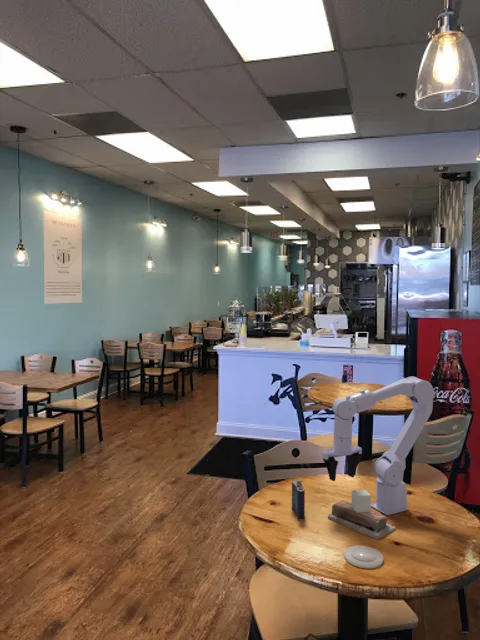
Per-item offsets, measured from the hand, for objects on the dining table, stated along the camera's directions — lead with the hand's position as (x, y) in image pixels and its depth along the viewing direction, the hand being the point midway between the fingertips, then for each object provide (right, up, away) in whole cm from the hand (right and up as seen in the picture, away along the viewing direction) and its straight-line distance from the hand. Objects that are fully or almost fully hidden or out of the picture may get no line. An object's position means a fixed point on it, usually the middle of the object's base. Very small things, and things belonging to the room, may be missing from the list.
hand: (341, 478), depth 157 cm
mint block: (+4, -7, -9) cm, 12 cm away
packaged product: (+4, -12, -9) cm, 15 cm away
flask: (-14, -11, -2) cm, 18 cm away
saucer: (0, -12, -29) cm, 31 cm away
